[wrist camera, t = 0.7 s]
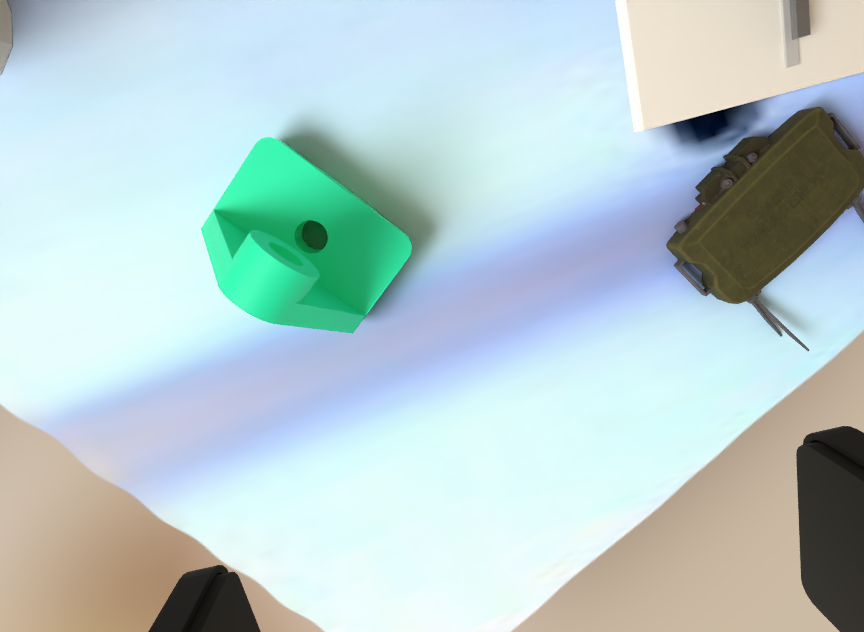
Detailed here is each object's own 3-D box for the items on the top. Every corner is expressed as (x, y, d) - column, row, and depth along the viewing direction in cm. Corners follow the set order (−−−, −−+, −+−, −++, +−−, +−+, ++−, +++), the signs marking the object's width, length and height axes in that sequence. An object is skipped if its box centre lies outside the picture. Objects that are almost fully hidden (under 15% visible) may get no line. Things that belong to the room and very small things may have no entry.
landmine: (821, 76, 32) (945, 233, 35) (790, 84, 34) (908, 230, 37) (658, 240, 34) (789, 375, 37) (641, 236, 36) (764, 363, 39)
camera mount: (417, 241, 36) (420, 260, 26) (356, 323, 37) (336, 372, 27) (275, 134, 33) (217, 110, 24) (216, 226, 35) (138, 240, 25)
